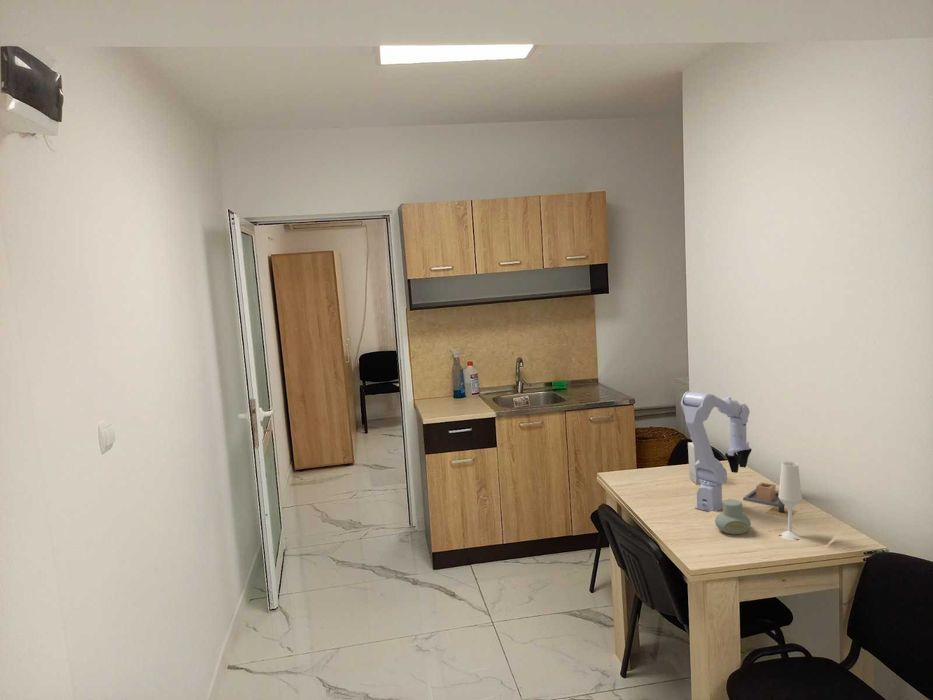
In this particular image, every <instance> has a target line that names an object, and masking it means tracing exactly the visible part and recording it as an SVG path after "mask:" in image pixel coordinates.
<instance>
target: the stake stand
mask: <svg viewBox="0 0 933 700" xmlns="http://www.w3.org/2000/svg"><path fill="white" fill-rule="evenodd" d="M797 512H798V510H797V509H796V510H795V509H792V516H793V515H795V514H796V513H797ZM765 514H769V515H773V516H778V517H782V518H783V517H784V518H787V519H788V508H785V505H784V504H783V503H782V502H781V501H779V506H777V507H776V506H771V508H770V509H769V510H767V511H766V512H765Z"/></svg>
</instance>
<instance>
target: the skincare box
mask: <svg viewBox="0 0 933 700" xmlns="http://www.w3.org/2000/svg"><path fill="white" fill-rule="evenodd" d="M687 450H688V453H687V455H688V469H689V474H688V475H689V480H691V482H692V483H693V484H695V485H701V482H699V479H698V478H697V477H696V474H695V466H694V465H695V463H696V461H697V460H698V456H697V454H696V451H695V448H694V445H693V442H687Z"/></svg>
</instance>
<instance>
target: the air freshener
mask: <svg viewBox="0 0 933 700" xmlns="http://www.w3.org/2000/svg"><path fill="white" fill-rule="evenodd" d="M722 503H723V507H722V512H720V513H718V515H717V516H716V517H715V520H714V524H715V526H716V527H717V528H718V529H719V530H720V531H722V532H723V533H726V534H730V535H732V534H733V536H736V535H737V534H738V535H740V534H744V533H746V532H747V531H748V530H749V529H750V528H751V520H750V518H749V517H748V516H747V515H746V514H744V513H743V503H742V502H741V501H740V500H738V499H731V498H730V499H724V500H722Z"/></svg>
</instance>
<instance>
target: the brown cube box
mask: <svg viewBox="0 0 933 700" xmlns="http://www.w3.org/2000/svg"><path fill="white" fill-rule="evenodd" d="M755 489H756V499H758V500H763V501H768V502H771V501H772V500H774V499H775V498H776V489H777V488H776V484H772V483H767V482H760V483H759V484H757V485H756V488H755Z"/></svg>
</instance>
